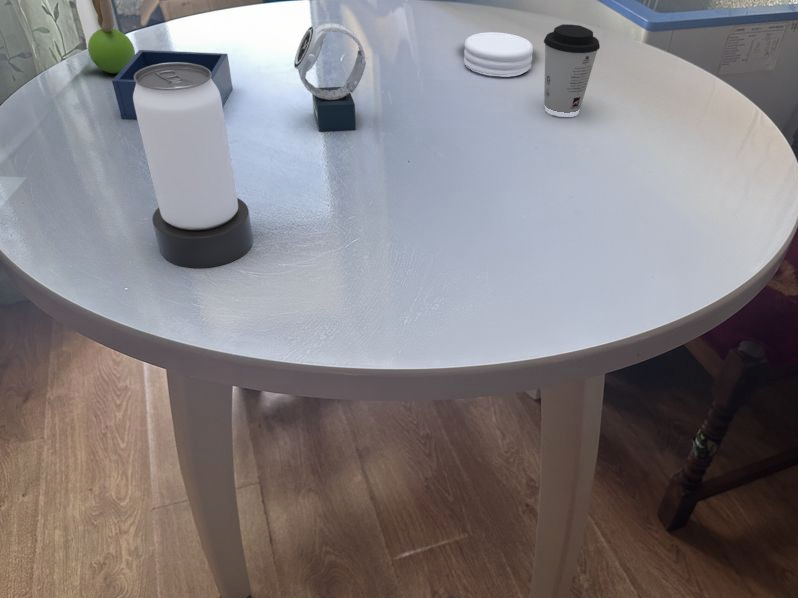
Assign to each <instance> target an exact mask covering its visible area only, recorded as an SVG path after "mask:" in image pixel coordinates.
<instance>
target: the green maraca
mask: <svg viewBox="0 0 798 598" xmlns="http://www.w3.org/2000/svg"><path fill="white" fill-rule="evenodd" d="M91 3H92V5H93V8H94V10H95V13H96V15H97V16H96V19H97V24H98V26H99V28H100V29H97V30H96V31H94V32H93V34H92V35H91V36H90V38H89V40H88V43H87V46H88V47H87V49H88V51H87V52H88V55H89V57H90V59H91V61H92V62H93V64H94V65H95V66H96V67H97V68H99V69H100V70H102V71H103V72H105V73H108V74H115V75H118V73H119V72H120V71H121V70H122V69H123V68H124V67H125V66H126V64H127V63H128V62H129V61H130V60H131V59H132V58H133V57H134V55H135V54H136V51H135V46H134V45H133V42H132V40H131V39H130V38H129V37H128V36H127V34H125V33H124V32H122V31H120V30H118V29H115V28H114V27H115V22H114V13H113V8H112V5H111V1H110V0H91Z"/></svg>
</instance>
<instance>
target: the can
mask: <svg viewBox="0 0 798 598" xmlns="http://www.w3.org/2000/svg"><path fill="white" fill-rule="evenodd" d="M211 76H212V74H211V71H210V70H209V69H207V68H206V67H204V66H201V65H197V64H192V63H182V62H172V63H161V64H156V65H151V66H148V67H145V68H143V69H140V70H139V71H137V72H136V73H135V75H134V80H135V82H136V86H135V90H134V94H133V101H134V106H135V111H136V115H137V119H136V120H137V123H138V128H139V131H140V136H141V140H142V144H143V148H144V152H145V156H146V161H147V165H148V169H149V173H150V176H151V181H152V185H153V186H152V187H153V189H154V193H155V197H156V201H157V205H158V208H159V210H160V213H161V216H162V218H163V219H164V220H165V221H166V222H167V223H169V224H170V225H172V226H173V227H176V228H179V229H183V230H191V231H200V230H208V229H213V228H216V227H219V226H221V225H223V224H225V223H227V222H229V221H230V220H231V219H232V218H233V217H234V215H235V214H236V212H237V211H238V200H237V198H238V194H237V188H236V187H237V186H236V181H235V175H234V168H233V163H232V157H231V149H230V145H229V144H230V143H229V138H228V132H227V126H226V119H225V114H224V106H223V107H222V101H221V96H220V92H219V90H218V88H217V86H216V85H215V83H214V82H213V81H212V79H211Z"/></svg>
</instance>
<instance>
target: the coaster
mask: <svg viewBox="0 0 798 598" xmlns="http://www.w3.org/2000/svg"><path fill="white" fill-rule="evenodd" d="M533 52H534V45H533V44H532V43H531V41H530V40H529V39H527V38H525V37H523V36H519V35H516V34H512V33H505V32H496V31H495V32H493V31H492V32H491V31H490V32H487V31H486V32H478V33H474V34H472V35H469V36H468V37H467V38H466V39H465V41H464V51H463V55H464V57H463V65H464V66H465V65H466V66H467V67H468V68H470V69H472V70H474V71H478V72H481V73H486V74H492V75H508V74H517V73H520V72H522V71H525V70H527V69H529V68H530V67H531V68H532V61H533ZM466 66H465V67H466ZM467 67H466V68H467ZM468 68H467V69H468ZM531 68H530V69H531Z"/></svg>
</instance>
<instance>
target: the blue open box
mask: <svg viewBox="0 0 798 598" xmlns="http://www.w3.org/2000/svg"><path fill="white" fill-rule="evenodd" d="M172 62H182V63H192V64H197V65H201V66H204V67H206V68H207V69H209V70H210V71H211V74H212V76H211V79H212V81H213V82H214V83H215V85H216V86H217V88H218V90H219V92H220V96H221V101H222V107H223V108H224V106H225V104H226V103H227V100H228V99H229V97H230V95H231V93H232V91H233V82H232V81H233V80H232V73H231V68H230V61H229V55H228V53H221V52H219V53H218V52H198V51H197V52H196V51H176V50H175V51H174V50H154V49H153V50H152V49H149V50H148V49H147V50H146V49H139V50H138V51H137V52H135V55H134V57H133V58H132V59H131V60H130V61H129V62H128V63H127V64H126V66H125V67H124V68H123V69H122V70H121V71H120V72H119V73H118V74H116V75H115V77H114V78H113V79H112V80H111V83H112V87H113V90H114V94H115V98H116V102H117V106H118V109H119V114H120V118H121V119H123V120H138V119H137V115H136V111H135V106H134V101H133V94H134V90H135V86H136V82H135V80H134V75H135V73H136V72H137V71H139V70H140V69H143V68H145V67H148V66H151V65H156V64H161V63H172Z"/></svg>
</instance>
